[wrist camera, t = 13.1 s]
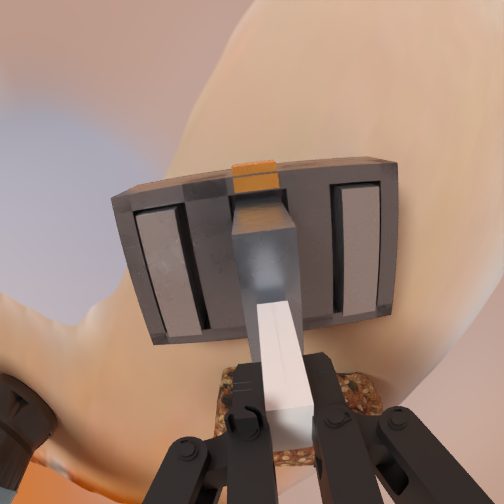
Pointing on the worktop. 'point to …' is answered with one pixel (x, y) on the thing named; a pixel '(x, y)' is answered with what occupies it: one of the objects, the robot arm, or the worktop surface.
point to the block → (266, 261)
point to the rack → (222, 252)
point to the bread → (358, 400)
